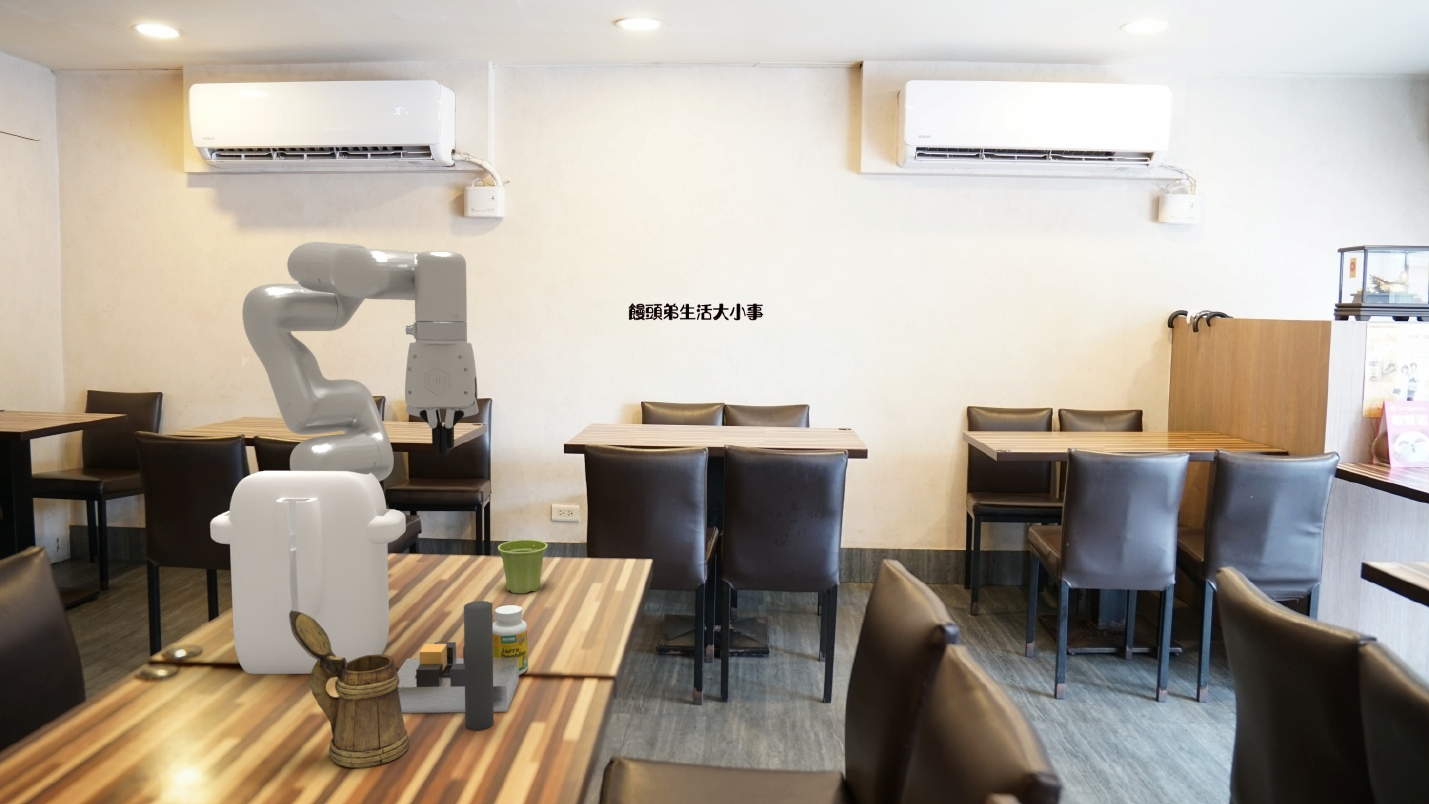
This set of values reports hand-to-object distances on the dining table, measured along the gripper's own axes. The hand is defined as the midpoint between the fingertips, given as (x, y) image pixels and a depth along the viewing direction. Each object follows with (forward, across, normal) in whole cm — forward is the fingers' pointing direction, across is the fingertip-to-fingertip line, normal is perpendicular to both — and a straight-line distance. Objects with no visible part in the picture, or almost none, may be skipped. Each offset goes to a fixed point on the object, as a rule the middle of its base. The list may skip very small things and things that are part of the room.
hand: (443, 452), depth 138 cm
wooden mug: (+32, -4, -31) cm, 45 cm away
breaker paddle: (+28, +2, -16) cm, 32 cm away
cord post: (+32, +10, -24) cm, 42 cm away
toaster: (+32, -19, -5) cm, 38 cm away
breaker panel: (+32, +5, -16) cm, 36 cm away
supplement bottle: (+32, +11, -7) cm, 35 cm away
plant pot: (+32, +7, +33) cm, 47 cm away
